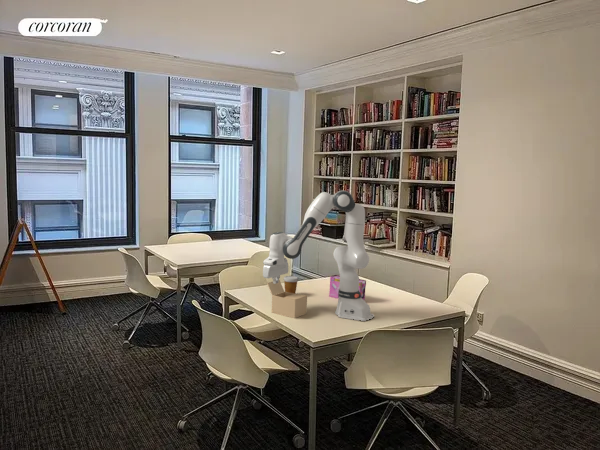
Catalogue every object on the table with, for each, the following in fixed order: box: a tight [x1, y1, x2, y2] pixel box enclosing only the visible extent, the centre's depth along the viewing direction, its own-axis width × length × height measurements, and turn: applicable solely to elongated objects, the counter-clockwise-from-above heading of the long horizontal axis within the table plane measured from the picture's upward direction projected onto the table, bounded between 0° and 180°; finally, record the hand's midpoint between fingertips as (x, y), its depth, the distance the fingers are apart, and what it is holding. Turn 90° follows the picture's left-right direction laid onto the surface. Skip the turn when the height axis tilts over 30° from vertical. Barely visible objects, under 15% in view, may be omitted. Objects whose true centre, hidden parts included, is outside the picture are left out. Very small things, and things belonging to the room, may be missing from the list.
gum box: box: [328, 274, 367, 302], centre depth 320 cm, size 24×8×14 cm, turn 55°
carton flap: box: [266, 279, 285, 296], centre depth 288 cm, size 8×11×1 cm
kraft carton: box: [271, 291, 308, 319], centre depth 283 cm, size 16×12×10 cm
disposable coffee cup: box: [283, 275, 299, 294], centre depth 322 cm, size 10×10×12 cm
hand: (275, 283), depth 288 cm, fingers closed
